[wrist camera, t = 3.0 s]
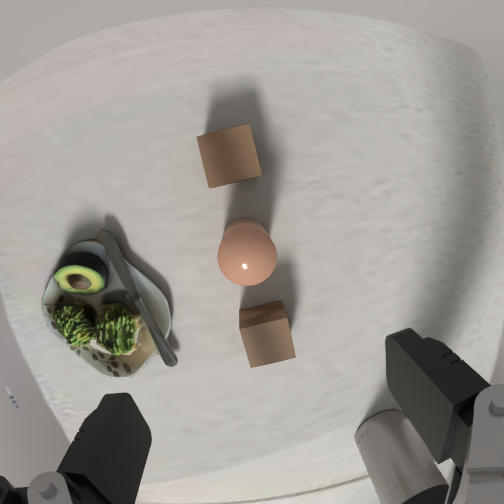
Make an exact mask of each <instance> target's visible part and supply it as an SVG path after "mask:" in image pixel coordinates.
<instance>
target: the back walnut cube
mask: <svg viewBox="0 0 504 504" xmlns="http://www.w3.org/2000/svg"><path fill="white" fill-rule="evenodd" d="M239 329H240V333H241V336H242V340H243V343H244V346H245V350H246V353H247V356H248V360H249V363H250V366H251V368H253V367H258V366H262V365H267V364H271V363H275V362H279V361H284V360H288V359H292V358H296V355H295V351H294V346H293V341H292V337H291V332H290V327H289V323H288V318H287V315H286V312H285V310H284V307H283V304H282V301H277V302H272V303H268V304H264V305H260V306H256V307H252V308H247V309H243V310H239Z"/></svg>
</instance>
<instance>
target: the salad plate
mask: <svg viewBox="0 0 504 504" xmlns="http://www.w3.org/2000/svg"><path fill="white" fill-rule="evenodd" d="M98 234H99V237H98V238H96V239H91V240H83V241H80V242H78V243H76V244H73V245H72V246H71V247H70V248H69V249H68V250H67V251H66V252H65V253H64V255H63V256H62V258H61V260H60V261H59V263H58V265H57V267H56V269H55V271H54V273H53V276H52V277H51V279H50V281H49V284H48V285H47V287H46V290H45V292H44V295H43V298H42V311H43V315H44V318H45V321H46V323H47V326H48V327H49V329H50V331H51V332H52V333H53V334H54V335H55V337H56V338H58V339H59V340H60V341H61V342H62V343H63V344H64V345H66V346H67V347H68V348H69V349H70V350H72V351H73V352H74V353H76V354H77V355H78V356H79V357H81V358H82V359H83V360H84V361H85V362H86V363H87V364H89V365H90V366H92V367H93V368H94V369H96V370H97V371H99V372H100V373H102V374H103V375H105V376H108V377H113V378H127V377H132V376H134V375H135V374H137V373H138V371H139V370H140V369H141V368H142V367H143V366H144V365H145V364H146V363H147V362H148V361H149V360H150V358H151V357H152V356H154V355H155V354H159V355H160V356H161V357H162V359H163V361H164V362H165V364H166V365H167V366H171V367H173V366H175V365H176V364H177V362H178V359H177V357H176V355H175V353H174V351H173V350H172V348H171V346H170V344H169V341H168V336H169V332H170V329H171V325H172V324H171V323H172V322H171V314H170V309H169V305H168V300H167V299H166V298H165V296H164V294H163V293H162V291H161V290H160V289H159V288H158V287H157V286H156V285H155V284H154V283H153V282H152V281H151V280H150V279H149V278H148V277H146V276H145V275H144V274H142V273H141V272H140V271H138V270H137V269H136V268H135V267H133V266H132V265H131V264H130V263H128V262H127V261H126V259H125V258H124V257H123V255H122V252H121V250H120V248H119V246H118V244H117V243H116V241H115V239H114V238H113V236H112V235H111V233H110V232H109V231H105V230H104V229H100V231H99V233H98ZM126 293H129V295H130V298H129V299H127V298H126V296H125V295H126ZM64 297H65V299H64ZM92 309H93V310H94V312H93V311H92ZM92 339H94V340H95V339H97V345H99V346H101V348H103V349H105V350H108V351H109V352H111V353H112V354H108V353H104V352H101V351H99V350H97V349H95V348H93V347H92V346H90V345H89V344H90V340H92ZM114 354H115V355H114Z"/></svg>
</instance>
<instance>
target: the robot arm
mask: <svg viewBox="0 0 504 504" xmlns="http://www.w3.org/2000/svg"><path fill="white" fill-rule="evenodd" d="M385 346H386V377H387V383H388V386H389V389H390V391H391V393H392V395H393V396H394V398H395V399H396V401H397V402H398V404H399V405H400V407H401V408H402V410H403V411H404V413H405V414H406V416H407V417H405V416H404V414H403V413H402V412H400V411H397V410H388V411H384V412H381V413H379V414H376V415H374V416H373V417H371V418H369V419H368V420H367V421H365V422H364V423H363V424H362V425H361V427H360V428H359V429H358V431H357V433H356V435H355V442H356V444H357V446H358V449H359V451H360V454H361V456H362V459H363V461H364V463H365V466H366V468H367V471H368V473H369V475H370V478H371V480H372V483H373V485H374V487H375V490H376V492H377V495H378V497H379V500H380V502H381V504H504V384H497V385H493V386H491V385H490V384H489V383H488V382H487V381H485V380H484V379H483V378H482V377H481V376H480V375H479V374H478V373H477V372H476V371H474V370H473V369H472V368H471V367H470V366H469V365H468V364H467V363H466V362H464V361H463V360H461V359H460V357H459V356H458V355H456V354H455V353H453V352H452V350H451V349H450V348H448V347H447V346H446V345H445V344H444V343H443V342H440V341H438V340H435V339H432V338H430V337H427V338H425V339H422V338H421V337H420V336H419V335H418V334H417V333H416V332H415V331H414V330H413V329H411V328H407V329H404V330H401V331H399V332H396V333H393V334H390V335H388V336H387V337H386V340H385ZM151 442H152V437H151V431H150V428H149V426H148V424H147V423H146V421H145V419H144V418H143V416H142V414H141V412H140V411H139V409H138V407H137V405H136V403H135V402H134V400H133V398H132V396H131V395H130V394H129V393H114V394H106V395H104V397H103V398H102V400H101V402H100V404H99V405H98V407H97V409H95V410H94V411H93V412H92V413H91V414H90V415H89V416H88V417H87V418H86V419H85V420H84V422H83V423H82V425H81V427H80V429H79V432H77V434H76V436H75V438H74V441H72V443H71V445H70V447H69V449H68V450H67V452H66V454H65V456H64V458H63V460H62V462H61V464H60V465H59V467H58V469H57V471H56V472H45V473H42V474H40V475H38V476H37V477H36V478H34V479H33V480H32V482H31V483H30V485H29V487H23V488H14V487H13V486H12V485H11V484H10V483H9V482H8V481H7V479H6V478H4V477H3V476H0V504H135V500H136V497H137V493H138V489H139V485H140V482H141V478H142V475H143V471H144V467H145V464H146V460H147V457H148V453H149V450H150V446H151ZM431 454H432V455H433V457H434V459H435V460H436V462H437V463H438V464H440V463H442V462H444V461H445V460H447V459H449V458H451V459H452V460H453V462H454V463H455V465H454V468H453V472H452V477H451V481H450V485H448V483H447V482H446V480H445V478H444V477H443V475H442V474H441V472H440V470H439V469H438V467H437V466H436V464H435V462H434V461H433V459H432V458H431Z"/></svg>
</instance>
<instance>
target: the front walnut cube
mask: <svg viewBox="0 0 504 504" xmlns="http://www.w3.org/2000/svg"><path fill="white" fill-rule="evenodd" d="M197 141H198V145H199V149H200V153H201V158H202V162H203V166H204V170H205V174H206V178H207V182H208V186H209V188H215V187H219V186H223V185H227V184H231V183H235V182H239V181H243V180H247V179H252V178H256V177H260V176H262V172H261V168H260V164H259V160H258V156H257V152H256V148H255V144H254V140H253V136H252V132H251V128H250V124H246V125H242V126H238V127H233V128H229V129H225V130H221V131H217V132H213V133H209V134H205V135H202V136H198V137H197Z"/></svg>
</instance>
